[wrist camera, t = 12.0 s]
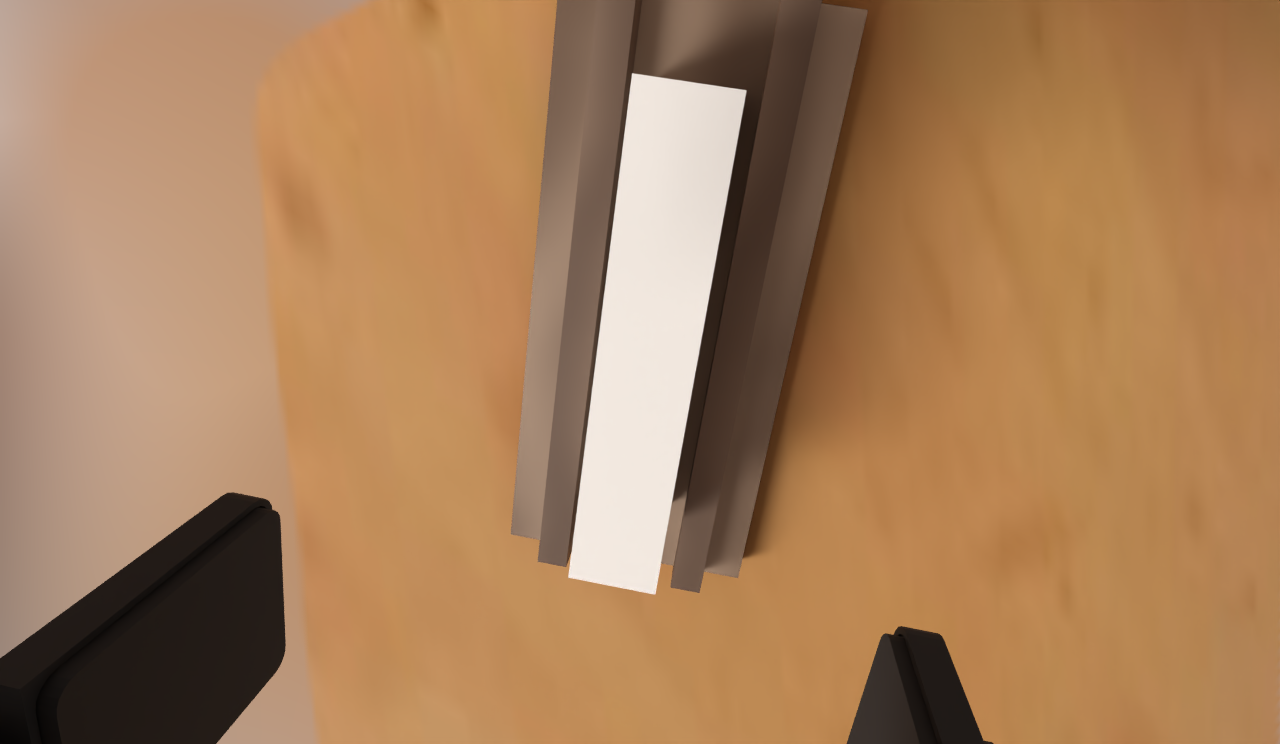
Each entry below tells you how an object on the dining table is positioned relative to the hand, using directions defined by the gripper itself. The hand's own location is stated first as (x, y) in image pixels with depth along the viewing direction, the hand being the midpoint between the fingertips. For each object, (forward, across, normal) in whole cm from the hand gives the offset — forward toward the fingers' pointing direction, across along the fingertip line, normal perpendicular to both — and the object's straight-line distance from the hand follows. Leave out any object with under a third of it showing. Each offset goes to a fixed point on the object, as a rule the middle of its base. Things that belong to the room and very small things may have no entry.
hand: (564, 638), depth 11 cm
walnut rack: (+18, 0, 0) cm, 18 cm away
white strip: (+17, 0, 0) cm, 17 cm away
